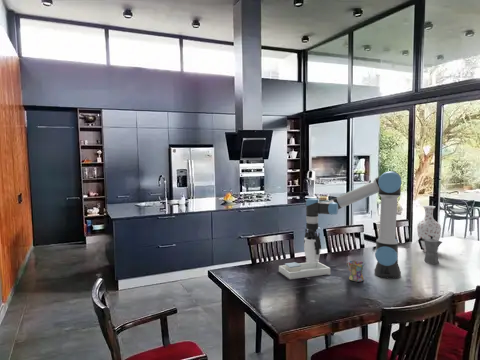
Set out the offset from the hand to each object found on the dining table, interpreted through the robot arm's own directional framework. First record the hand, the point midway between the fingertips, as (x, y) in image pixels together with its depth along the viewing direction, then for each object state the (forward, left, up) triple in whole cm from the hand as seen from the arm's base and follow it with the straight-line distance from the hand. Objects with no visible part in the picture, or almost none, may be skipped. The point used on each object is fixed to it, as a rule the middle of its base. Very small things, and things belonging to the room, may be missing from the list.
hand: (312, 256), depth 221 cm
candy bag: (-20, -17, -10) cm, 28 cm away
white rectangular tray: (0, +6, -10) cm, 12 cm away
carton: (0, +14, -9) cm, 17 cm away
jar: (0, 0, -3) cm, 3 cm away
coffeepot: (-7, -88, -10) cm, 89 cm away
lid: (0, +14, -4) cm, 14 cm away
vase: (+14, -109, -10) cm, 110 cm away
